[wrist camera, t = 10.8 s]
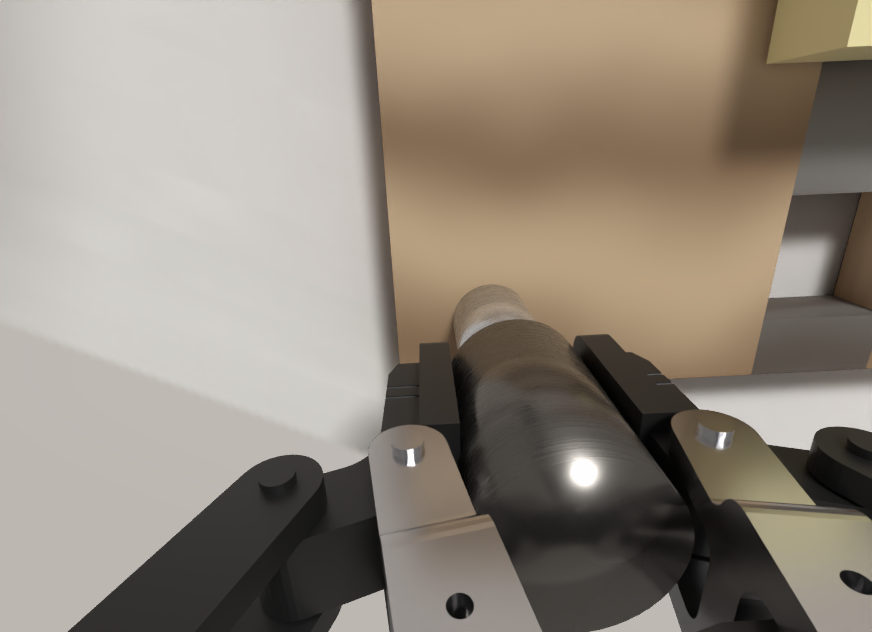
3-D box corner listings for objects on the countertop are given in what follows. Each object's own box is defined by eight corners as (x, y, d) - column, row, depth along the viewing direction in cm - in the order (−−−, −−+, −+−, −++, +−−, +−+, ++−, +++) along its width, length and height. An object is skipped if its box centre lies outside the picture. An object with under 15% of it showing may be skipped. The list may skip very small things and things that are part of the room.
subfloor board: (362, -193, 12) (344, -296, 9) (1125, -219, 12) (1338, -326, 9) (403, 365, 18) (400, 408, 15) (921, 339, 18) (1014, 376, 15)
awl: (438, 274, 14) (463, 469, 6) (541, 269, 14) (712, 454, 6) (442, 367, 15) (469, 639, 7) (538, 362, 15) (677, 626, 7)
